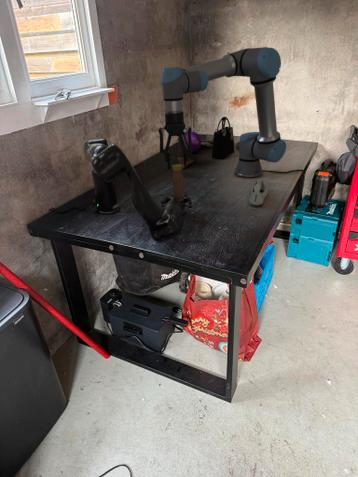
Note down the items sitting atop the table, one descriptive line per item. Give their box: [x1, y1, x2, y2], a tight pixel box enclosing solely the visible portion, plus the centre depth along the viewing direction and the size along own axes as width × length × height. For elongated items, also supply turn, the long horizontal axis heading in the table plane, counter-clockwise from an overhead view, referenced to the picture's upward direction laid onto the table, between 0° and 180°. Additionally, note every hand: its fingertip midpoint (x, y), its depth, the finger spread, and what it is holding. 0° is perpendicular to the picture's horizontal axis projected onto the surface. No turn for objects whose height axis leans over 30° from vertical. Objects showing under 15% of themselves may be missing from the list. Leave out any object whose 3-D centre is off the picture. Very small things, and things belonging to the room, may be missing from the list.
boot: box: [176, 131, 195, 169], centre depth 209 cm, size 9×24×20 cm, turn 168°
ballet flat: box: [249, 179, 269, 207], centre depth 158 cm, size 8×24×8 cm, turn 163°
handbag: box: [211, 116, 236, 160], centre depth 219 cm, size 21×9×25 cm, turn 148°
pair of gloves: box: [199, 134, 214, 149], centre depth 251 cm, size 30×26×5 cm
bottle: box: [172, 170, 186, 215], centre depth 145 cm, size 5×5×21 cm
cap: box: [171, 163, 184, 172], centre depth 140 cm, size 4×4×2 cm
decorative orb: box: [184, 130, 202, 154], centre depth 230 cm, size 15×15×15 cm
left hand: (179, 195), depth 150 cm, fingers closed on bottle, 4 cm apart
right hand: (177, 168), depth 141 cm, fingers open, 6 cm apart
